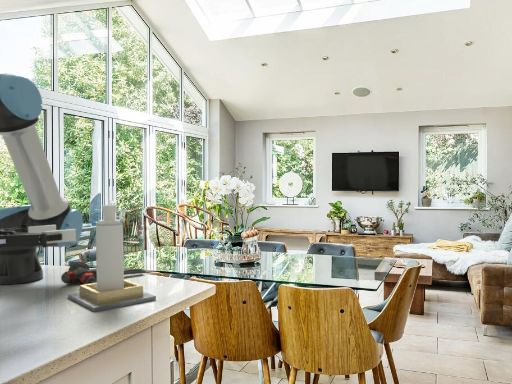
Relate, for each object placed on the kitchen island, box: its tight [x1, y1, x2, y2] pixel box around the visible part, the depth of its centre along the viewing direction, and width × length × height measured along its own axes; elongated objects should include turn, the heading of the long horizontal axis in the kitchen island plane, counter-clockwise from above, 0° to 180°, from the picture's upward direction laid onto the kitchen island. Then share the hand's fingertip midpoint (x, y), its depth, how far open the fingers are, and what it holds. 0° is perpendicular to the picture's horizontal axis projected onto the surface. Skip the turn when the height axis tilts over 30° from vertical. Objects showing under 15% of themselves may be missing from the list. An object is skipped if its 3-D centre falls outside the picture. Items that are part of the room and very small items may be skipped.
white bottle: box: [95, 204, 125, 292], centre depth 118 cm, size 7×7×25 cm
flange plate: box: [67, 278, 157, 313], centre depth 119 cm, size 18×16×4 cm
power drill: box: [60, 260, 146, 285], centre depth 141 cm, size 6×26×15 cm
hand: (65, 232), depth 111 cm, fingers open, 13 cm apart
